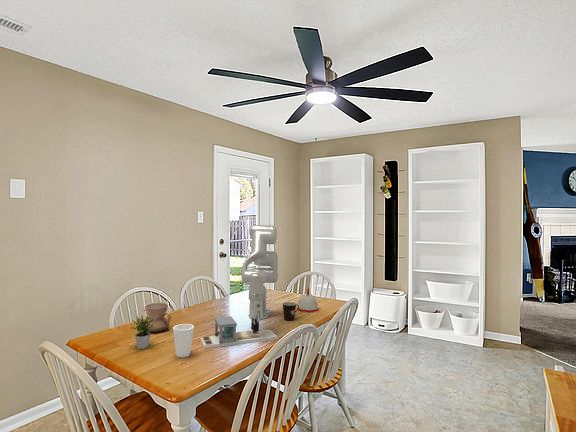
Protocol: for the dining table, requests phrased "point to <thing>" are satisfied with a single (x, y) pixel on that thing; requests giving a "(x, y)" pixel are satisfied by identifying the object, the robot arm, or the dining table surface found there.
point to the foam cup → (183, 339)
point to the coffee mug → (289, 310)
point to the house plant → (143, 331)
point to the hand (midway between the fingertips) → (255, 330)
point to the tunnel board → (230, 322)
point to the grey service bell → (308, 303)
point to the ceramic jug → (160, 311)
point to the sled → (239, 333)
